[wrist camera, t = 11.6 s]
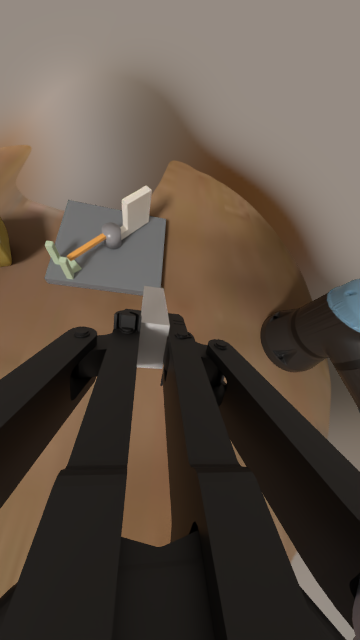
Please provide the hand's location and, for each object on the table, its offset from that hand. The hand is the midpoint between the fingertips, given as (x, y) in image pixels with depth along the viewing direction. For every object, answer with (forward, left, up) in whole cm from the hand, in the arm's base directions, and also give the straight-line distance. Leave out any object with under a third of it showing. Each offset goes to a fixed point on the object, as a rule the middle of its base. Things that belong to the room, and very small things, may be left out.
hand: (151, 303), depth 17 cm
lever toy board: (+9, -27, -30) cm, 41 cm away
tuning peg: (+9, -27, -28) cm, 40 cm away
